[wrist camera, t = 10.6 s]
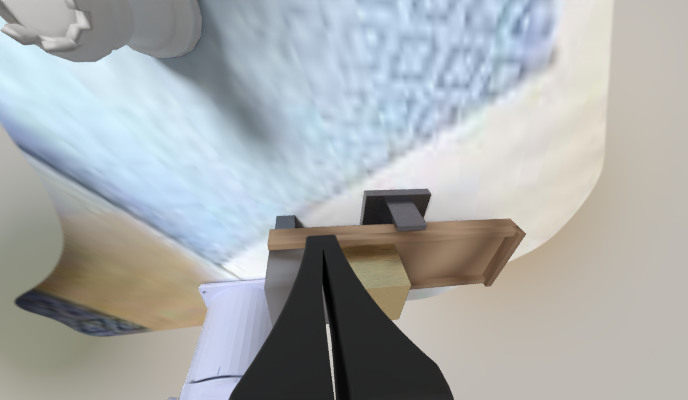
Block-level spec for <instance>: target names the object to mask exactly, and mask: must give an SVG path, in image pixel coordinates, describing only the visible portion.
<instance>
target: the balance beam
mask: <svg viewBox="0 0 688 400" xmlns="http://www.w3.org/2000/svg"><path fill="white" fill-rule="evenodd" d="M425 223H426V224H427V226H426V229H425V230H411V231H396V229H395V226H394V224H381V225H359V226H337V227H315V228H293V229H271V230H270V232H269V238H268V250H269V256H268V263H267V271H266V278H265V285H264V290H265V295H266V300H267V304H268V309H269V314H270V319H271V323H272V328H273V327H274V325H275V323H276V321H277V319H278V317H279V315H280V313H281V311H282V309H283V307H284V305H285V303H286V301H287V299H288V296H289V294H290V292H291V289H292V287H293V284H294V282H295V279H296V277H297V274H298V271H299V268H300V265H301V262H302V258H303V254H304V250H305V244H306V237H308V236H316V235H335V236H336V237H337V240H338V242H339V245H340V247H350V246H366V245H383V244H395V247H396V249H397V252H398V254H399V257H400V259H401V262H402V264H403V266H404V269H405V271H406V274H407V276H408V279H409V281H410V284H411V287H410V289H421V288H433V287H444V286H456V285H467V284H478V283H483V284H484V285H485V286H491V285H492V284H493V282H494V281H495V279H496V278H497V276H498V275H499V273H500V272H501V270H502V269H503V267H504V266H505V265H506V263H507V262H508V260H509V259H510V257H511V256H512V254H513V253H514V251H515V250H516V248H517V247H518V245H519V244H520V242H521V241H522V239H523V238H524V237H525V235H526V233H525V232H524V231H522V230H521V229H520V228H519V227H518V226H517V225H516V224H515V223H514V222H513V221H512V220H511V219H490V220H469V221H447V222H425ZM410 289H409V290H410ZM322 293H323V303H324V314H325V323H326V324H329V321H328V315H327V309H326V303H325V297H324V291H323V285H322Z"/></svg>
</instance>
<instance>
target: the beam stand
mask: <svg viewBox="0 0 688 400" xmlns="http://www.w3.org/2000/svg"><path fill="white" fill-rule="evenodd" d="M430 196H431V193H430V192H429V190H428V189H409V190H374V191H364V197H363V204H362V212H361V219H360V225H381V224H394V226H395V229H396V231H411V230H425V229H426V226H427V224H426V223H425V221H424V219H423V217H424V214H425V211H426V208H427V205H428V202H429V199H430ZM293 228H296V226H295V215H294V216H277V218H276V226H275V229H293Z"/></svg>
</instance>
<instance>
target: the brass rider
mask: <svg viewBox="0 0 688 400" xmlns="http://www.w3.org/2000/svg"><path fill="white" fill-rule="evenodd" d="M341 249H342V251H343V253H344V255H345V257H346V259H347V261H348V262H349V264H350V266H351V267H352V269H353V271H354V272H355V274H356V276H357V277H358V279H359V280H360V282H361V283H362V285H363V286H364V287H365V289H366V290H367V292H368V293H369V294H370V296H371V297H372V298H373V299H374V301H375V302H376V303H377V305H378V306H379V307H380V308H381V309H382V311H383V312H384V313H385V314H386V315H387V316H388V317H389V318H390V319H391V320H397V319H399V317H400V314H401V311H402V309H403V306H404V303H405V301H406V298H407V295H408V292H409V289H410V287H411V284H410V281H409V279H408V276H407V274H406V271H405V269H404V266H403V264H402V262H401V259H400V257H399V254H398V252H397V249H396V247H395V244H383V245H366V246H350V247H341Z"/></svg>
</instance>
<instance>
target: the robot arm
mask: <svg viewBox="0 0 688 400" xmlns="http://www.w3.org/2000/svg"><path fill="white" fill-rule="evenodd" d="M264 285H265V279H259V280H246V281H234V282H221V283H208V284H201V285H200V286H199V292H200V294H201V296H202V298H203V300H204V302H205V304H206V306H207V308H208V311H207V314H206V317H205V321H204V324H203V327H202V330H201V334H200V336H199V340H198V343H197V346H196V349H195V352H194V355H193V359H192V362H191V365H190V369H189V371H188V375H187V378H186V381H185V384H184V386H183V388H182V391H181V394H180V396H179V399H178V400H334V392H333V384H332V376H331V368H330V360H329V351H328V342H327V333H326V323H325V314H324V303H323V293H322V285H323V291H324V297H325V303H326V309H327V315H328V321H329V327H330V333H331V341H332V353H333V367H334V379H335V392H336V400H454V398H453V395H452V393H451V390H450V388H449V385H448V384H447V382H446V380H445V378H444V376H443V374H442V372H441V370H440V369H439V367H438V365H437V364H436V363H435V362H434V361H433V360H431V359H430V358H429V357H428V356H427V355H426V354H425V353H423V352H422V351H421V350H420V349H419V348H418V347H417V346H416V345H415V344H414V343H413V342H412V341H411V340H410V339H409V338H408V337H407V336H406V335H405V334H404V333H402V331H401V330H400V329H399V328H398V327H397V326H396V325H395V324H394V323H393V322H392V321H391V319H390V318H389V317H388V316H387V315H386V314H385V313H384V312H383V311H382V309H381V308H380V307H379V306H378V305H377V303H376V302H375V301H374V299H373V298H372V297H371V296H370V294H369V293H368V292H367V290H366V289H365V287H364V286H363V285H362V283H361V282H360V280H359V279H358V277H357V276H356V274H355V272H354V271H353V269H352V267H351V266H350V264H349V262H348V261H347V259H346V257H345V255H344V253H343V251H342V249H341V247H340V245H339V242H338V240H337V237H336V236H335V235H316V236H308V237H306V244H305V250H304V254H303V258H302V262H301V265H300V268H299V271H298V274H297V277H296V279H295V282H294V284H293V287H292V289H291V292H290V294H289V296H288V299H287V301H286V303H285V305H284V307H283V309H282V311H281V313H280V315H279V317H278V319H277V321H276V323H275V325H274V327H273V328H272V323H271V319H270V314H269V309H268V304H267V300H266V295H265V290H264ZM168 400H177V398H175V397H170V398H169V399H168Z"/></svg>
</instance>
